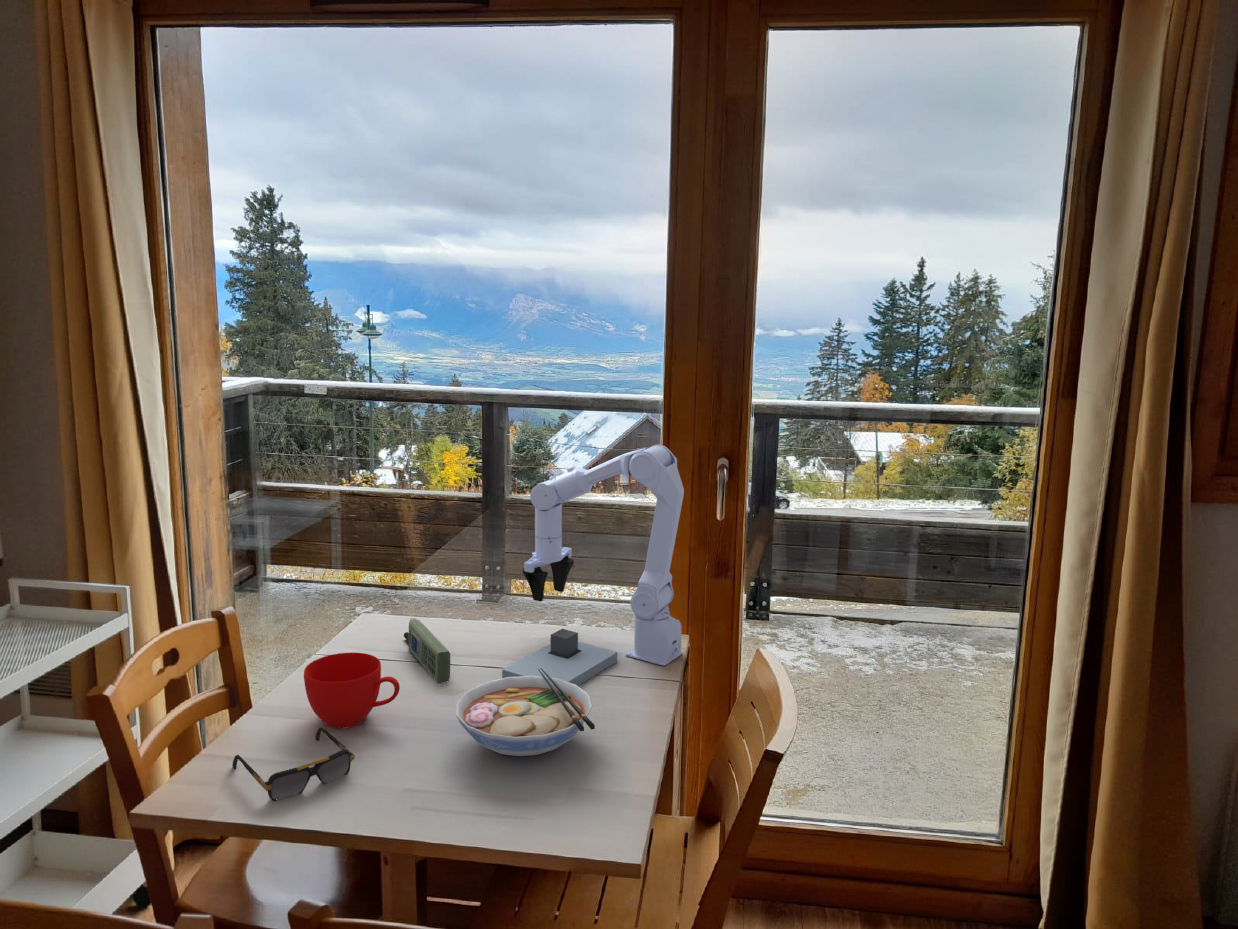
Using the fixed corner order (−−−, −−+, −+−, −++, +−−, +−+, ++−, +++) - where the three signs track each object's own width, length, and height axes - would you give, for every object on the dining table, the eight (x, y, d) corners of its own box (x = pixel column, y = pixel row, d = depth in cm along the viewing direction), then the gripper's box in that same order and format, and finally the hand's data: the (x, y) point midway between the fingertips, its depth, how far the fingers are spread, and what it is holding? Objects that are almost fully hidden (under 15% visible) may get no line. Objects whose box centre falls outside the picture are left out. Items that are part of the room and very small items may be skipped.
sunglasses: (316, 741, 152) (315, 714, 151) (358, 777, 141) (357, 748, 140) (232, 770, 142) (230, 741, 142) (270, 811, 131) (267, 779, 131)
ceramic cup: (383, 744, 150) (381, 688, 148) (291, 733, 154) (288, 678, 152) (415, 709, 163) (414, 657, 161) (330, 700, 166) (327, 649, 164)
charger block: (577, 660, 186) (577, 632, 185) (566, 666, 182) (566, 638, 181) (562, 655, 188) (562, 628, 187) (550, 662, 185) (550, 634, 183)
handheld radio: (435, 685, 174) (398, 641, 195) (451, 682, 175) (413, 639, 196) (435, 652, 172) (398, 612, 194) (452, 650, 174) (413, 610, 195)
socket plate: (617, 661, 185) (617, 652, 185) (559, 696, 169) (559, 686, 168) (562, 646, 193) (562, 637, 192) (502, 679, 176) (502, 669, 176)
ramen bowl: (443, 722, 158) (441, 679, 156) (566, 703, 166) (566, 661, 165) (472, 796, 135) (471, 746, 134) (614, 769, 143) (615, 722, 142)
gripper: (553, 525, 202) (553, 583, 205) (512, 540, 190) (513, 601, 193) (579, 530, 198) (579, 589, 201) (539, 545, 186) (539, 607, 189)
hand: (548, 595), depth 197 cm, fingers open, 7 cm apart
